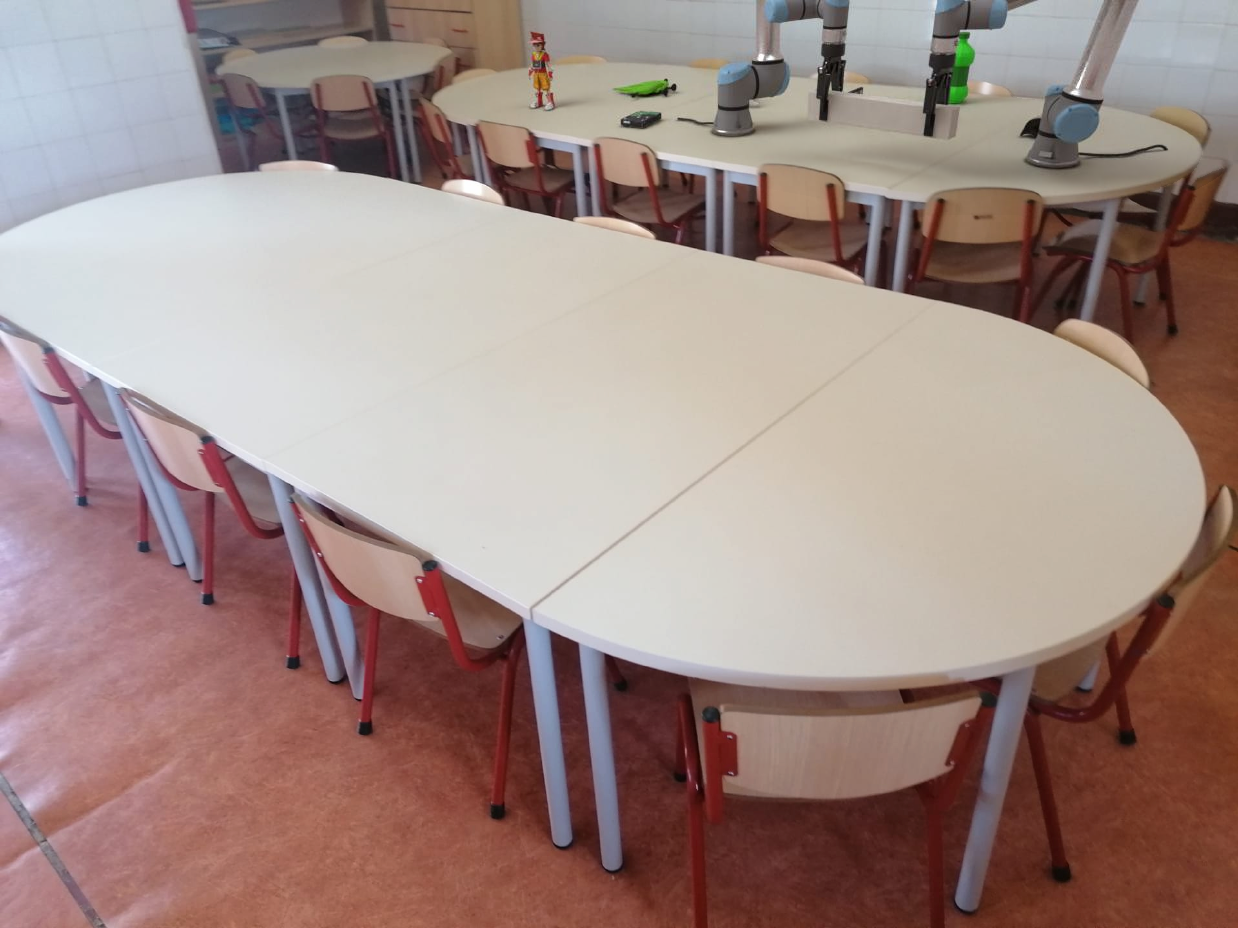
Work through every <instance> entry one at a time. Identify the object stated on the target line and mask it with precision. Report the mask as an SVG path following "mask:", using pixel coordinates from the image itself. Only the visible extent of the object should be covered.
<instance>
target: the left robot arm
mask: <svg viewBox="0 0 1238 928" xmlns="http://www.w3.org/2000/svg"><path fill="white" fill-rule="evenodd" d="M850 3H851V1H850V0H755V55H754V56H752V58H751V63H750V62H749V61H739V62H738V61H734V62H730V63H727V64H724V65H723V66H721V67H720V68H719V70H718V75H717V82H716V83H717V111H716V114H715V118H714V120H713V121H698V120H697V119H693V118H687V117H677V119H676V120H677V121H686V122H687V121H688V122H691V123H695V124H697V125H701V126H703V125H704V126H705V125H712V133H713V134H715V135H717V136H721V137H741V136H746V135H750V134H752V133H754V127H755V121H753V118H752V115H751V111H750V106H749V100H753V99H754V100H758V99H764V98H774V97H778V96H782V95H783V94H784V93H785V92H786V90H787V89H788V87H789V84H790V81H791V69H790V65H789V63H788V62H787V61H785V56H784V55H783V54H782V53H781V24H783V23H789V22H794V21H805V20H814V19H820V20H822V33H821V42H822V43H821V47H820V56H821V57H822V58H823V62H822V65H821V66H818V67H817V82H816V89H817V94H816V98H817V99H820V112H819V120H824V121H827V116H828V103H829V100H827V98H828V93H829V90H832V91H840V92H844V83H845V71H846V70H845V69H846V64H847V60H846V59H843V58H842V57H844V56H845V54H846V41H847V34H848V33H847V31H848V30H847V29H848V23H849V21H848V20H849V12H850V11H849V10H850ZM830 88H831V89H830ZM754 100H753V101H754ZM824 121H823V122H824Z"/></svg>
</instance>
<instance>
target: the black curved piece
mask: <svg viewBox="0 0 1238 928" xmlns="http://www.w3.org/2000/svg"><path fill="white" fill-rule="evenodd" d="M1041 117H1042V113H1040V114H1037V115H1036V116H1034V117H1033V118H1031V119H1029V120H1028V121H1027V122H1026V123H1025V125H1024V127H1023V129H1022V130H1021V132H1020V134H1019V137H1023V136H1024V135H1031V136H1032V137H1033V138H1035V139H1036V138H1037V136H1038V132H1039V127H1040V122H1041Z"/></svg>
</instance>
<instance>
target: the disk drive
mask: <svg viewBox="0 0 1238 928" xmlns="http://www.w3.org/2000/svg"><path fill="white" fill-rule="evenodd" d="M661 119H663V118H662V112H659V111H652V110H651V111H645V110H638V111H636V112H633V113H631V114H629V115H627V116H624V117H622V118H620V126H622V127H628V128H629V127H630V128H640V129H644V128H645V127H648V126H650V125H652V124H654V123H656V122H658V121H660V120H661Z"/></svg>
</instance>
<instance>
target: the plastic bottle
mask: <svg viewBox="0 0 1238 928" xmlns="http://www.w3.org/2000/svg"><path fill="white" fill-rule="evenodd" d="M970 36H971V32H970V31H960V33H959V39H958V41H959V44H958V46H957V51H956V52H955V53H956V61H955V66H954V67H952V68H950V71H954V73H953V77H952V82H951V89H950V97H949V104H960V103H961V102H963V101H964V100H966V98H967V96H968V95H969V85H968V79H969V73H970V67H971V65H972V64H973V63H974V61H975V57H976V51H975V49H974V47H972V45H971V44H970V43H969V42H968V41H969V39H970V38H971V37H970Z"/></svg>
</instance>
